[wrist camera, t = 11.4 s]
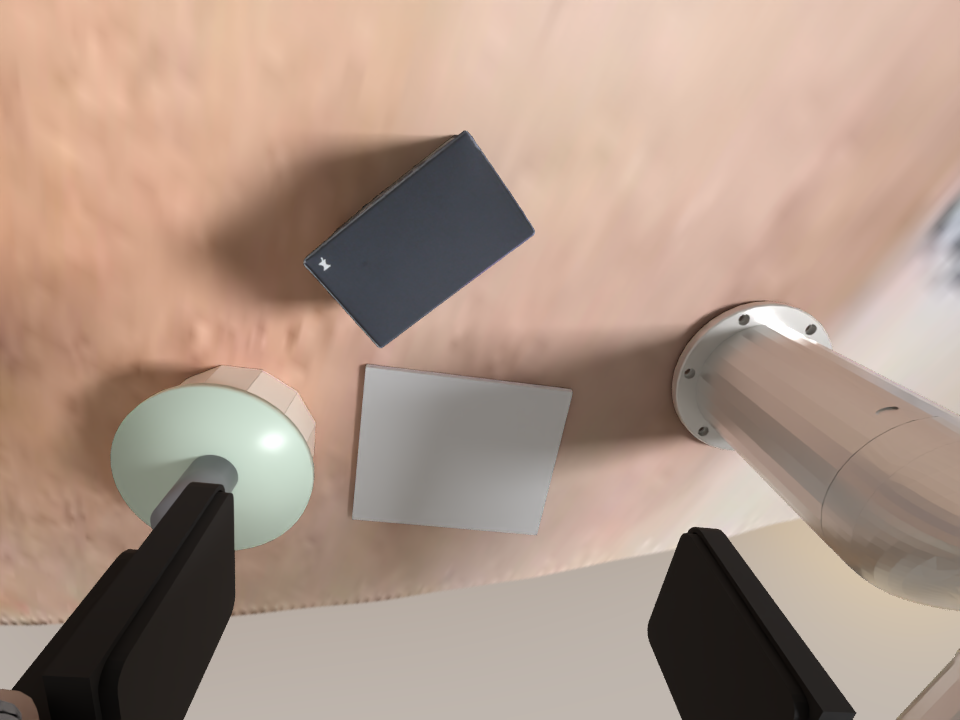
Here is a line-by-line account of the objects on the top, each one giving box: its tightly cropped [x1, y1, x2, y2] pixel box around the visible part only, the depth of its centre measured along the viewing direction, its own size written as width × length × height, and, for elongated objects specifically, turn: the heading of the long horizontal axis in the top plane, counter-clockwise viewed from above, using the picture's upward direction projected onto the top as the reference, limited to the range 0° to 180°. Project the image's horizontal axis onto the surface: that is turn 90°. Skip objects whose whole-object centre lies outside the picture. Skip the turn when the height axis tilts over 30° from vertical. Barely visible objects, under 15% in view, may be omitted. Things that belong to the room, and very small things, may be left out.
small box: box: [303, 131, 535, 348], centre depth 31 cm, size 11×6×10 cm, turn 127°
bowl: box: [180, 365, 316, 458], centre depth 38 cm, size 11×11×5 cm
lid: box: [110, 383, 314, 550], centre depth 33 cm, size 13×13×6 cm
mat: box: [352, 364, 573, 535], centre depth 42 cm, size 16×14×1 cm
